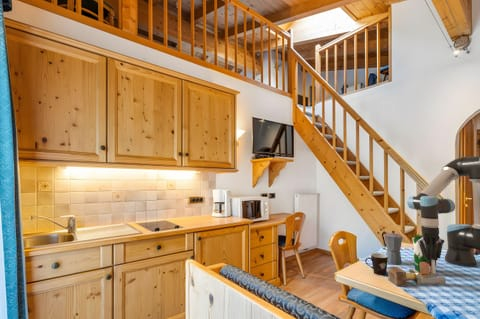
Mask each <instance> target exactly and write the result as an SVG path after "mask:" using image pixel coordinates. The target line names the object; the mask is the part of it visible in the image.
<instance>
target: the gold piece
mask: <svg viewBox="0 0 480 319" xmlns="http://www.w3.org/2000/svg"><path fill="white" fill-rule="evenodd" d="M420 272H421V273H420V275H421V277H430V275H429V274H430V269H429V264H428V263H426V262H420ZM411 280H417V279H416V274H415V273H410V272H406V282H407V281H410V282H412V281H411Z"/></svg>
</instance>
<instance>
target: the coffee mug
mask: <svg viewBox="0 0 480 319" xmlns="http://www.w3.org/2000/svg"><path fill="white" fill-rule="evenodd" d="M368 260H371V264H372V265H370V264H369V263H367V261H368ZM387 260H388V256H387V255H386V254H385V253H381V252H380V253H379V252H373V253H370V257H366V258H365V260H364V262H365V264H366V265H367V266H368V267H370V268H371V269H372V271H373V274H374V275H377V276H386V275H387V273H388V263H387Z"/></svg>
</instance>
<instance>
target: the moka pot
mask: <svg viewBox="0 0 480 319" xmlns="http://www.w3.org/2000/svg"><path fill="white" fill-rule="evenodd" d="M395 231H396V230H391V232H388V231H387V232H386V231H385V230H384V231H383V232H382V233H381V237H382V241H383V245H384V246H385V247H386V252H385V253H386V254H385V255H387V256H388V260H387V264H390V265H394V266H398V265H399V266H400V265H402V263H403V261H402V255H401V248H402V242H403V240H404V238H403V235H401V234H400V233H395Z"/></svg>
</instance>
